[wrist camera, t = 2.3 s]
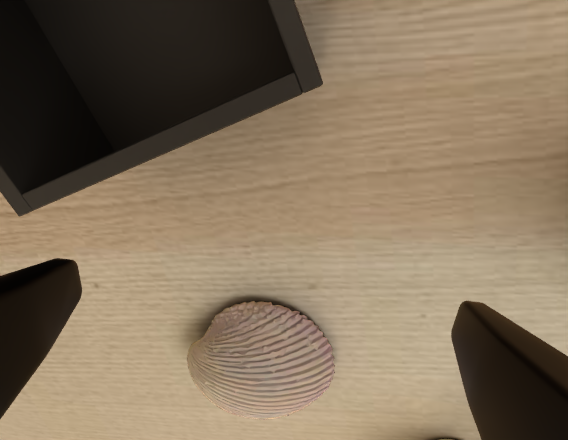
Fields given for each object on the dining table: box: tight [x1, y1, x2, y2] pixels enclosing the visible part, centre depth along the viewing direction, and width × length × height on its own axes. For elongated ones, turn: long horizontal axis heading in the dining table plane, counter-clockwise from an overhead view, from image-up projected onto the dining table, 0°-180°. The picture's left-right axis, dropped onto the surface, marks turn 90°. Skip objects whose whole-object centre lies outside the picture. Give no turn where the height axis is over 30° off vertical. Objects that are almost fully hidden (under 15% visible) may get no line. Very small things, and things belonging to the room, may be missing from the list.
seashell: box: [187, 301, 335, 420], centre depth 25 cm, size 10×6×10 cm
